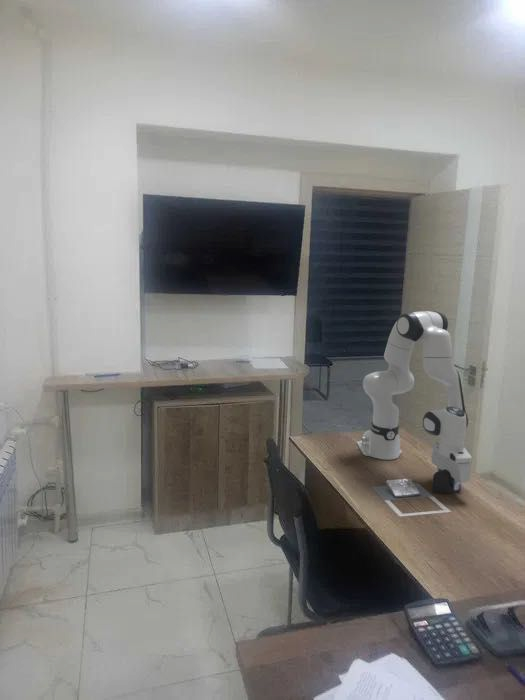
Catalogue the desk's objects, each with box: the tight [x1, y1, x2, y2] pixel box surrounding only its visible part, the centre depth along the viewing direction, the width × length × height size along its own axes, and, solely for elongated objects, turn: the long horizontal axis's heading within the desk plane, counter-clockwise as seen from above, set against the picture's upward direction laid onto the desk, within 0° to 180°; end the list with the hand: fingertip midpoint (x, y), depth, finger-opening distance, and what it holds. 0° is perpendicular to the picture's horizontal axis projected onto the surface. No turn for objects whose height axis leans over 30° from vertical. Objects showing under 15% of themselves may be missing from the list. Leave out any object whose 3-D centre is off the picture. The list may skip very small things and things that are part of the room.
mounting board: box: [371, 483, 452, 517], centre depth 186 cm, size 22×20×1 cm
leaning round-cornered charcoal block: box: [431, 469, 462, 495], centre depth 194 cm, size 16×5×9 cm, turn 123°
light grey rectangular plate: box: [385, 478, 420, 498], centre depth 190 cm, size 8×10×1 cm
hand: (447, 483), depth 195 cm, fingers open, 8 cm apart
